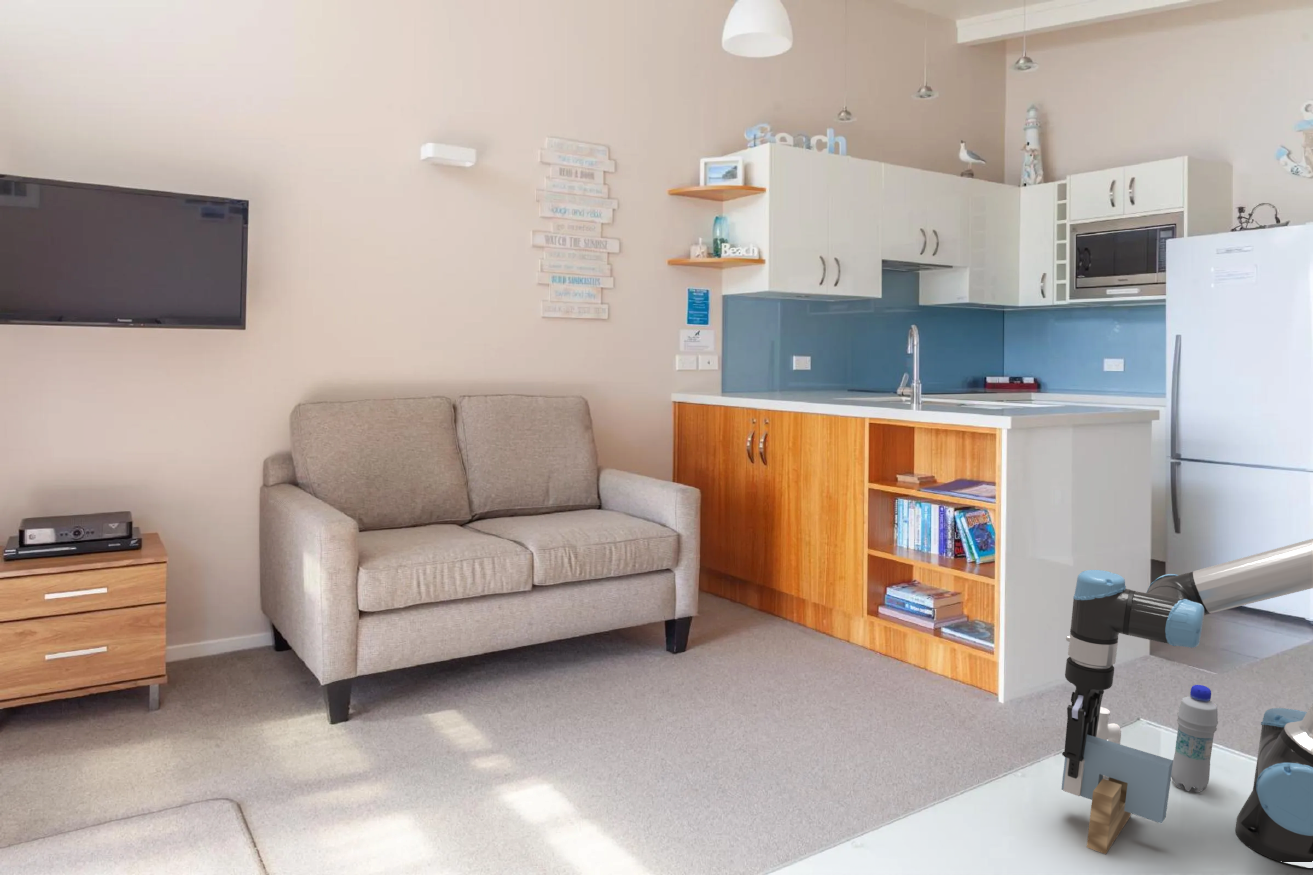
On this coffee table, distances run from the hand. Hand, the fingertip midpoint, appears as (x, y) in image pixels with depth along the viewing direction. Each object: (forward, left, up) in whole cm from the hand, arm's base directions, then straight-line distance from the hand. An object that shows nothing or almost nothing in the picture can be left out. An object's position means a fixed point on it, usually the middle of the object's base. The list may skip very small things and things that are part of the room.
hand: (1075, 788), depth 171 cm
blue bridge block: (-6, 0, 0) cm, 6 cm away
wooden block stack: (-6, 0, -6) cm, 8 cm away
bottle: (-13, -28, -6) cm, 31 cm away
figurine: (+1, -16, -6) cm, 17 cm away
